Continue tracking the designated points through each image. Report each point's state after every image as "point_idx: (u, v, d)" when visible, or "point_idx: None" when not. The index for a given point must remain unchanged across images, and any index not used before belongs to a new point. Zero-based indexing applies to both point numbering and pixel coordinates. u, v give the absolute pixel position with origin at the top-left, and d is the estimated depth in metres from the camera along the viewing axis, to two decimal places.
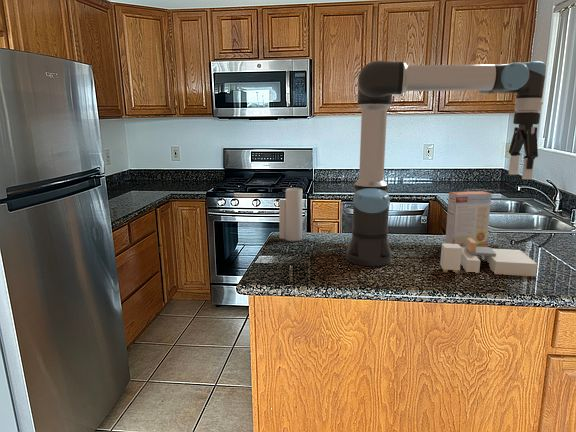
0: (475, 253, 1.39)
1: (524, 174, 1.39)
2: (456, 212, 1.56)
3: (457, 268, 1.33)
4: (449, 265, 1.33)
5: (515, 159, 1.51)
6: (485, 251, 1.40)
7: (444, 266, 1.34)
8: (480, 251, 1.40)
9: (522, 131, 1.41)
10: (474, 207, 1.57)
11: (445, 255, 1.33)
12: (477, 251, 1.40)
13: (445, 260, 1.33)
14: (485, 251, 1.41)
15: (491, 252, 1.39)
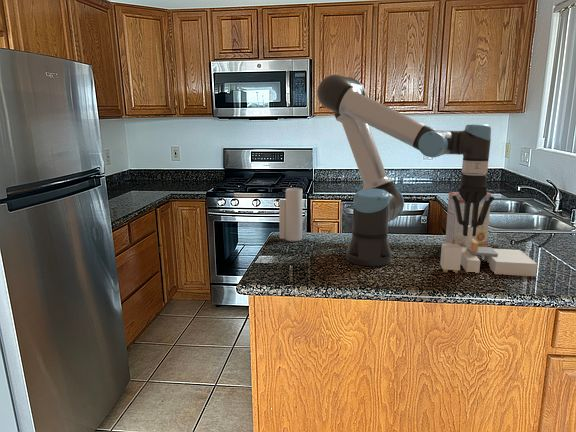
0: (477, 253, 1.39)
1: (465, 240, 1.43)
2: None
3: (457, 268, 1.33)
4: (449, 265, 1.33)
5: None
6: (486, 252, 1.40)
7: (444, 266, 1.34)
8: (482, 251, 1.40)
9: None
10: None
11: (445, 255, 1.33)
12: (479, 251, 1.40)
13: (445, 260, 1.33)
14: (486, 251, 1.41)
15: (493, 252, 1.39)
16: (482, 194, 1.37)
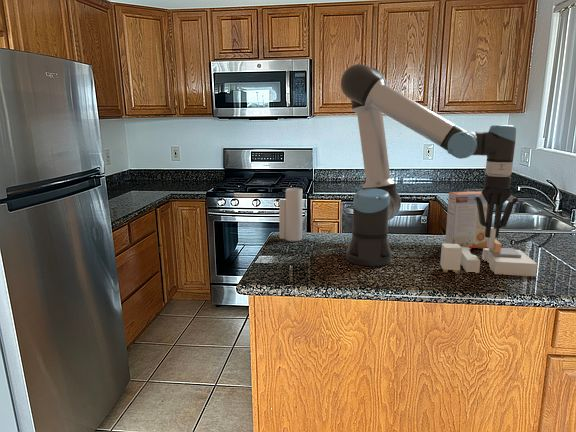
0: (500, 254, 1.38)
1: (487, 241, 1.42)
2: (456, 212, 1.56)
3: (457, 268, 1.33)
4: (449, 265, 1.33)
5: None
6: (509, 253, 1.39)
7: (444, 266, 1.34)
8: (505, 252, 1.39)
9: None
10: (474, 207, 1.57)
11: (445, 255, 1.33)
12: (502, 252, 1.39)
13: (445, 260, 1.33)
14: (509, 252, 1.39)
15: (516, 253, 1.38)
16: (506, 195, 1.36)
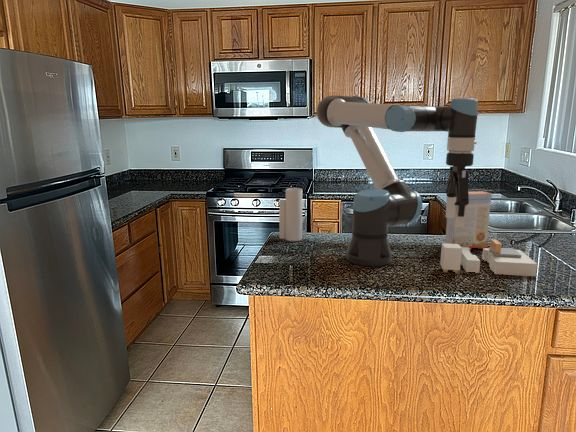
0: (500, 254, 1.38)
1: (456, 222, 1.26)
2: None
3: (457, 268, 1.33)
4: (449, 265, 1.33)
5: (452, 201, 1.38)
6: (509, 253, 1.39)
7: (444, 266, 1.34)
8: (505, 252, 1.39)
9: (455, 173, 1.28)
10: (474, 207, 1.57)
11: (445, 255, 1.33)
12: (502, 252, 1.39)
13: (445, 260, 1.33)
14: (509, 252, 1.39)
15: (516, 253, 1.38)
16: None
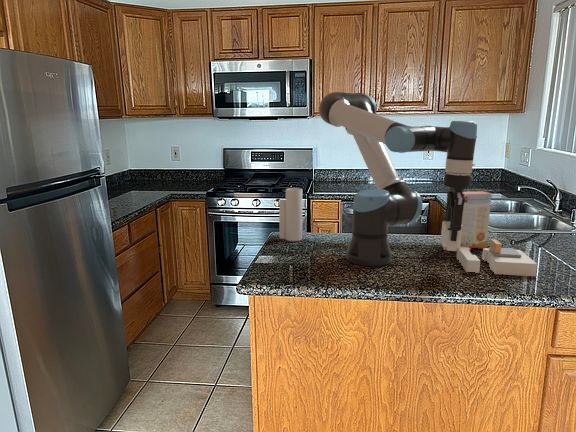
0: (500, 254, 1.38)
1: (448, 245, 1.32)
2: None
3: (457, 246, 1.32)
4: None
5: None
6: (509, 253, 1.39)
7: (444, 243, 1.33)
8: (505, 252, 1.39)
9: (452, 194, 1.30)
10: (474, 207, 1.57)
11: (446, 232, 1.32)
12: (502, 252, 1.39)
13: (445, 237, 1.32)
14: (509, 252, 1.39)
15: (516, 253, 1.38)
16: None
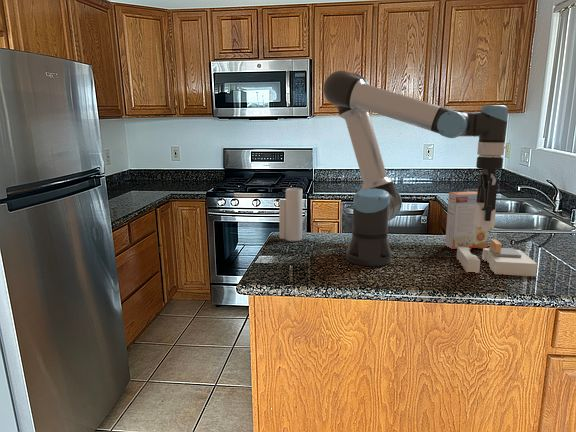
0: (500, 254, 1.38)
1: (483, 225, 1.37)
2: (456, 212, 1.56)
3: (491, 225, 1.38)
4: None
5: None
6: (509, 253, 1.39)
7: (478, 224, 1.38)
8: (505, 252, 1.39)
9: (485, 176, 1.35)
10: (474, 207, 1.57)
11: (479, 213, 1.37)
12: (502, 252, 1.39)
13: (479, 218, 1.38)
14: (509, 252, 1.39)
15: (516, 253, 1.38)
16: None
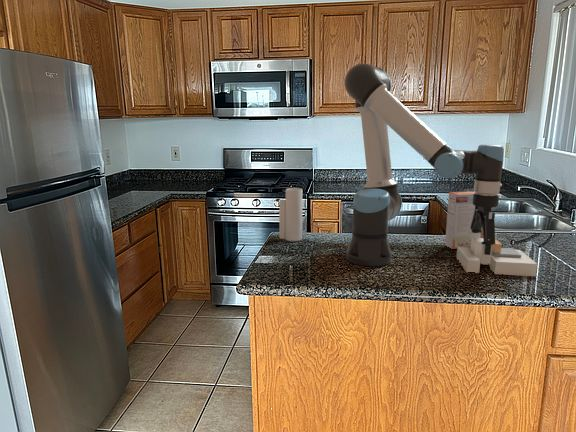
0: (500, 254, 1.38)
1: (482, 259, 1.36)
2: (456, 212, 1.56)
3: None
4: (480, 258, 1.40)
5: (476, 236, 1.48)
6: (509, 253, 1.39)
7: None
8: (505, 252, 1.39)
9: (481, 213, 1.38)
10: (474, 207, 1.57)
11: (476, 249, 1.40)
12: (502, 252, 1.39)
13: (476, 253, 1.40)
14: (509, 252, 1.39)
15: (516, 253, 1.38)
16: None
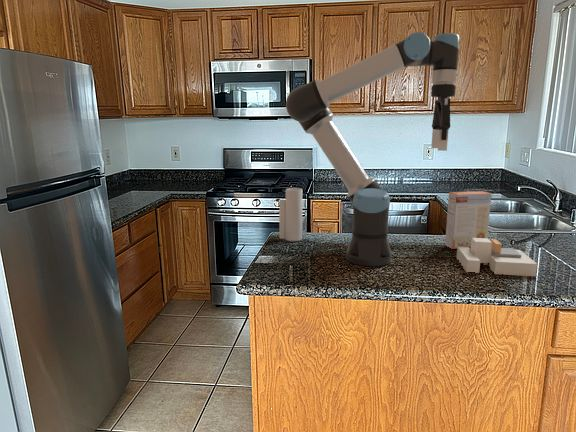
0: (500, 254, 1.38)
1: (439, 145, 1.40)
2: (456, 212, 1.56)
3: (487, 261, 1.40)
4: (480, 258, 1.40)
5: (437, 133, 1.52)
6: (509, 253, 1.39)
7: None
8: (505, 252, 1.39)
9: (438, 103, 1.43)
10: (474, 207, 1.57)
11: (476, 249, 1.40)
12: (502, 252, 1.39)
13: (476, 253, 1.40)
14: (509, 252, 1.39)
15: (516, 253, 1.38)
16: None
